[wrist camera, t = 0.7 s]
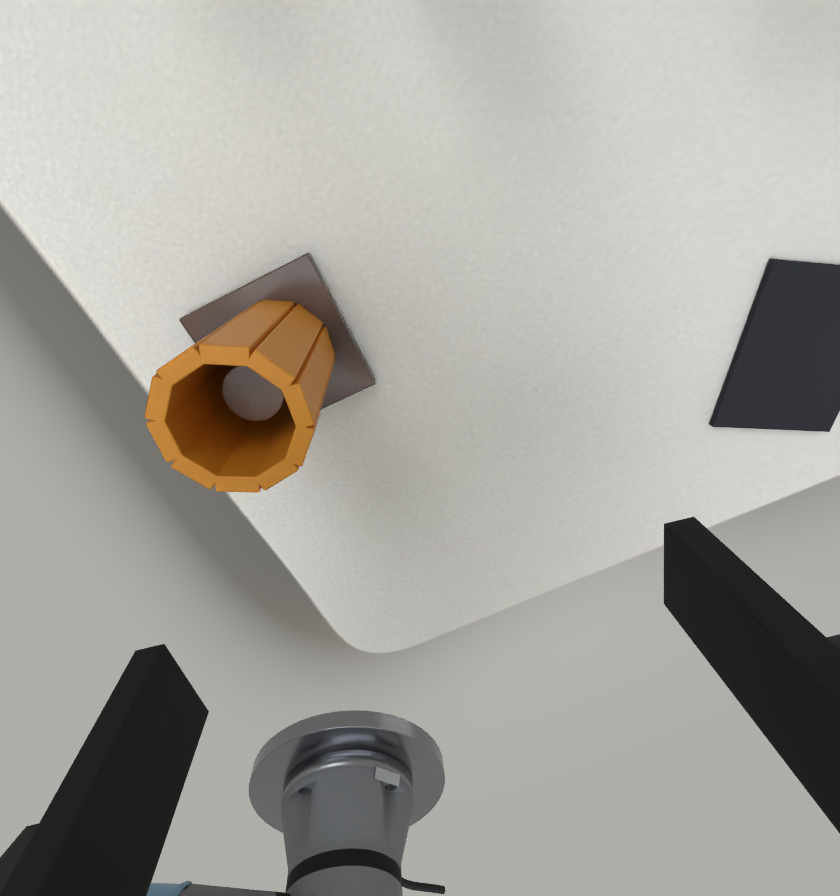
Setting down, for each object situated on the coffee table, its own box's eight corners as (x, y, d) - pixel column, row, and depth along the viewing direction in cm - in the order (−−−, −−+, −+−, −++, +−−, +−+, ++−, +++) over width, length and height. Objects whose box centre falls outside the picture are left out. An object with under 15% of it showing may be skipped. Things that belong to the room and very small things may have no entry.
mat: (824, 429, 38) (829, 431, 37) (708, 424, 37) (713, 426, 36) (900, 270, 33) (907, 270, 32) (769, 258, 32) (774, 259, 31)
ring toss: (375, 379, 33) (376, 430, 25) (262, 432, 34) (227, 498, 26) (309, 252, 29) (284, 263, 21) (184, 316, 30) (113, 350, 22)
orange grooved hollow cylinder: (334, 403, 32) (315, 494, 22) (231, 399, 32) (157, 490, 21) (335, 304, 30) (313, 350, 19) (221, 296, 29) (130, 340, 18)
